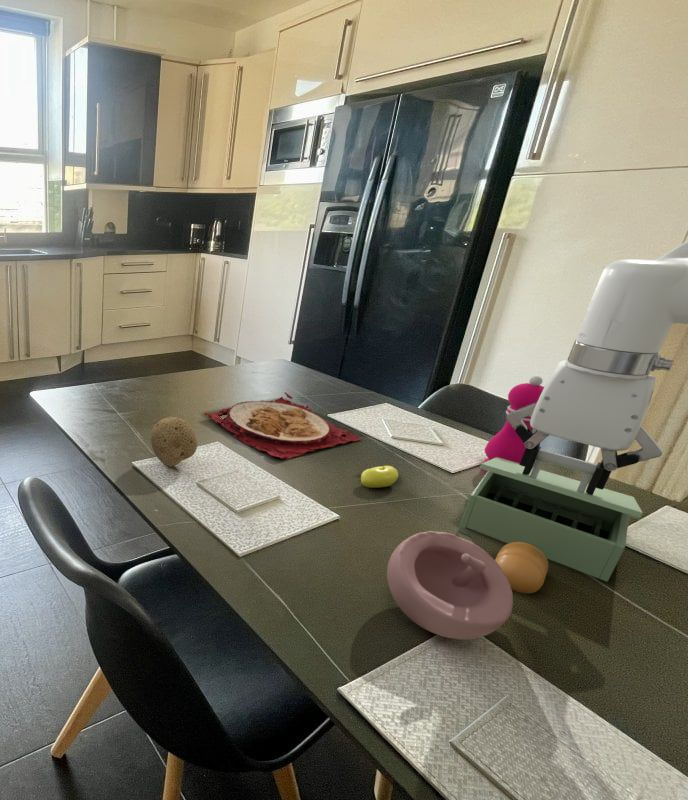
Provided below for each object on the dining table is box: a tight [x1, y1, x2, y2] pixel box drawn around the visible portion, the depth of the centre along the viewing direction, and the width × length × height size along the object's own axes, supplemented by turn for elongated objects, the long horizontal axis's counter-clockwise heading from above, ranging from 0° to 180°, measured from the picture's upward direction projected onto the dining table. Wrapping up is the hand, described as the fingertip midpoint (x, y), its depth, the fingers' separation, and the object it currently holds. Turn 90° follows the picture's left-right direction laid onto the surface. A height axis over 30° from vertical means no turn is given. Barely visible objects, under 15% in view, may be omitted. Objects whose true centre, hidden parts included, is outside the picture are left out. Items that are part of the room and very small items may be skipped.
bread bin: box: [457, 471, 631, 583], centre depth 75 cm, size 17×17×7 cm
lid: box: [479, 448, 644, 519], centre depth 72 cm, size 17×17×5 cm
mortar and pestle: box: [386, 530, 514, 640], centre depth 58 cm, size 12×12×12 cm
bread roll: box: [494, 542, 549, 595], centre depth 65 cm, size 9×5×5 cm, turn 131°
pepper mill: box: [481, 375, 545, 474], centre depth 91 cm, size 7×7×20 cm
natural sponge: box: [149, 416, 198, 468], centre depth 94 cm, size 9×9×10 cm
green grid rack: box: [492, 485, 605, 537], centre depth 76 cm, size 14×13×3 cm
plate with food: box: [204, 391, 363, 460], centre depth 112 cm, size 24×26×3 cm
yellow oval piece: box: [360, 465, 399, 489], centre depth 89 cm, size 4×8×4 cm, turn 106°
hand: (557, 479), depth 69 cm, fingers closed on lid, 6 cm apart
